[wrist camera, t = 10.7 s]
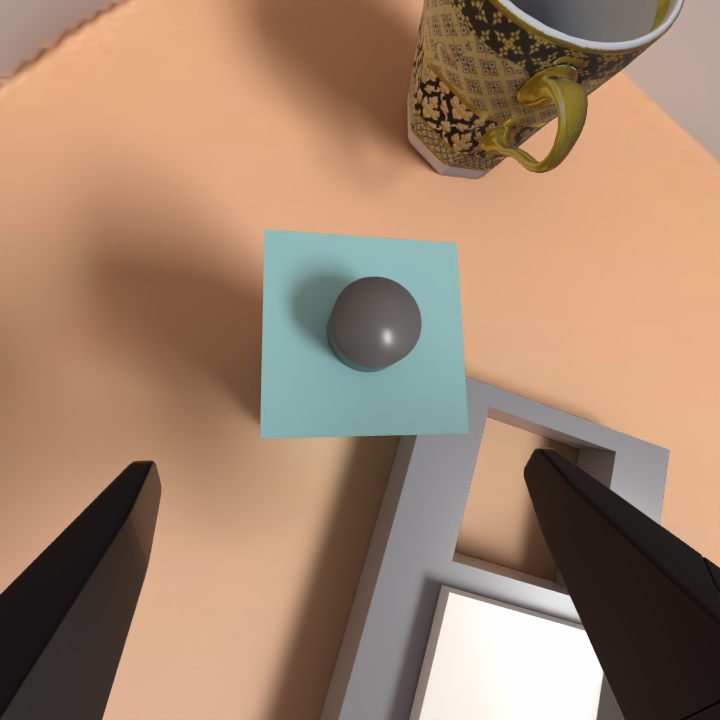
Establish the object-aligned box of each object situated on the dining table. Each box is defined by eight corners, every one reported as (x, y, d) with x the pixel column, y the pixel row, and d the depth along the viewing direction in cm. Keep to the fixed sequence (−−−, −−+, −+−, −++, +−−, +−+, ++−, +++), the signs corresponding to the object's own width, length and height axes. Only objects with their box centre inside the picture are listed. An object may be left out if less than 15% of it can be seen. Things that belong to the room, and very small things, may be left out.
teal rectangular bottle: (364, 430, 20) (492, 433, 8) (273, 432, 19) (257, 439, 7) (362, 333, 21) (474, 201, 9) (274, 331, 20) (262, 181, 8)
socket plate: (565, 848, 18) (608, 911, 16) (298, 793, 17) (301, 854, 14) (628, 447, 23) (669, 450, 20) (418, 373, 21) (436, 365, 19)
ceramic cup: (375, 44, 24) (439, -215, 14) (525, 72, 26) (670, -140, 16) (377, 246, 22) (452, 100, 12) (540, 260, 24) (719, 144, 14)
